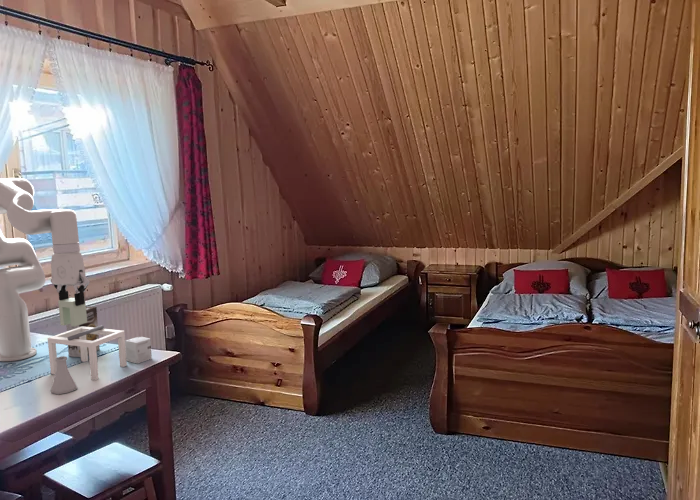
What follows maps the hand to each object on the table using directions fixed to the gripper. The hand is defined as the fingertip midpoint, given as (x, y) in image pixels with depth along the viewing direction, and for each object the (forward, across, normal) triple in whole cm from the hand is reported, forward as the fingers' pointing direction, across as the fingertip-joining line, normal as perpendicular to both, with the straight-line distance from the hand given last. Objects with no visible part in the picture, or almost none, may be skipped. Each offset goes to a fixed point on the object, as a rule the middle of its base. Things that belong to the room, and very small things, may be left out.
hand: (72, 303), depth 181 cm
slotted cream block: (+7, 0, 0) cm, 7 cm away
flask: (+23, +9, -14) cm, 28 cm away
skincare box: (+23, +12, +15) cm, 29 cm away
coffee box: (+22, -12, +14) cm, 29 cm away
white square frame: (+22, +3, +2) cm, 23 cm away
